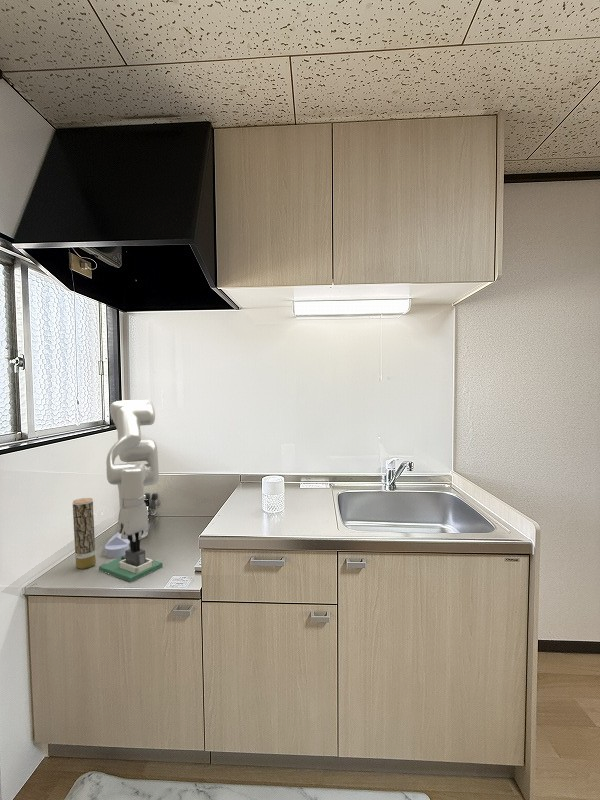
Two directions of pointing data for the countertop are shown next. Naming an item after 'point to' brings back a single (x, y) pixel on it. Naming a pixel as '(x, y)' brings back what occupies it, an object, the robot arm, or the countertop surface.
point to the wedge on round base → (116, 546)
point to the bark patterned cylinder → (84, 532)
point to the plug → (135, 557)
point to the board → (129, 568)
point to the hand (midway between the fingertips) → (135, 550)
